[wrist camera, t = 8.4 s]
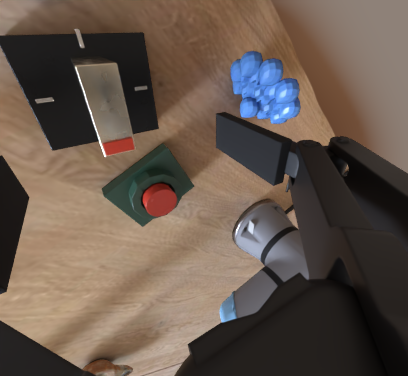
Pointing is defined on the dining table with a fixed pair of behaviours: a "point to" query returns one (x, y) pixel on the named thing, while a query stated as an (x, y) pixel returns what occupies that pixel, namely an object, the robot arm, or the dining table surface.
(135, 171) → the button housing
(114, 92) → the silver rectangular block
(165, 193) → the button
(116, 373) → the oil lamp
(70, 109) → the black stand base
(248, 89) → the blue flower
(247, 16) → the dining table surface
